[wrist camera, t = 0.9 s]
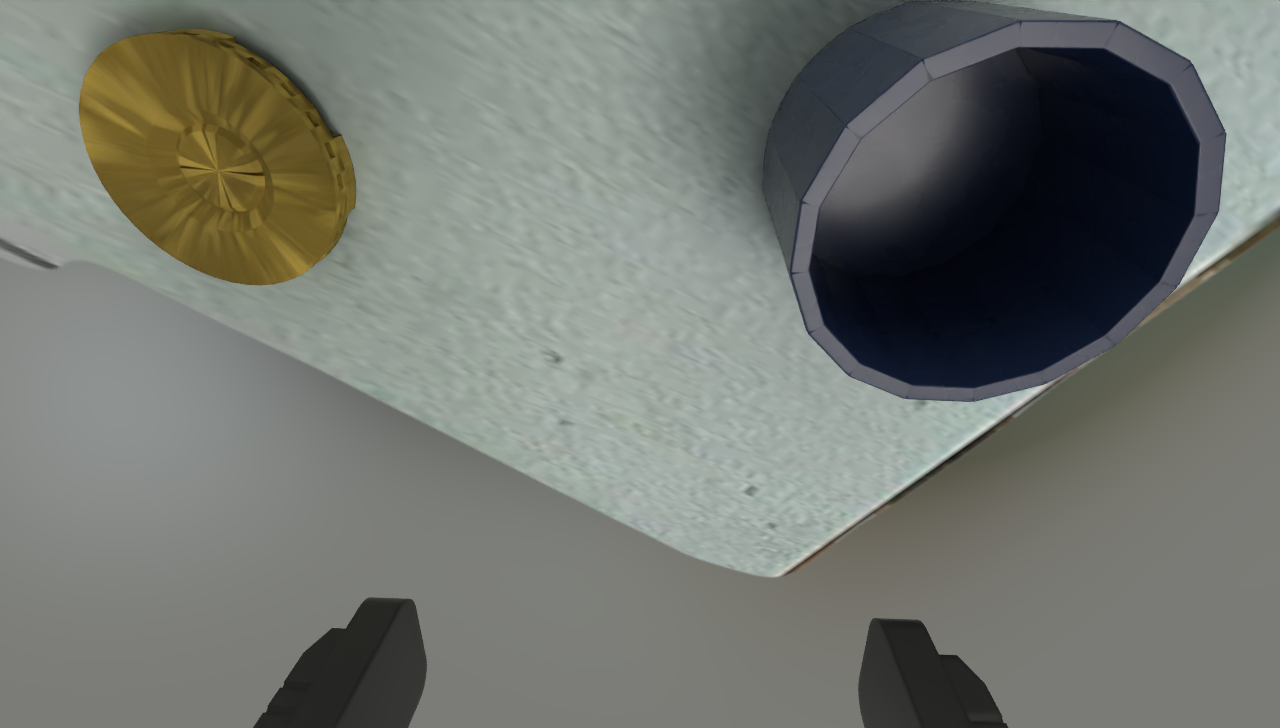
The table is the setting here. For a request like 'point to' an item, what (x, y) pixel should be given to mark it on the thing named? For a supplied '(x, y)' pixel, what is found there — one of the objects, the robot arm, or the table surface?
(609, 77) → the table surface
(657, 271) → the table surface
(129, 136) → the golden brown disc
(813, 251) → the pot
